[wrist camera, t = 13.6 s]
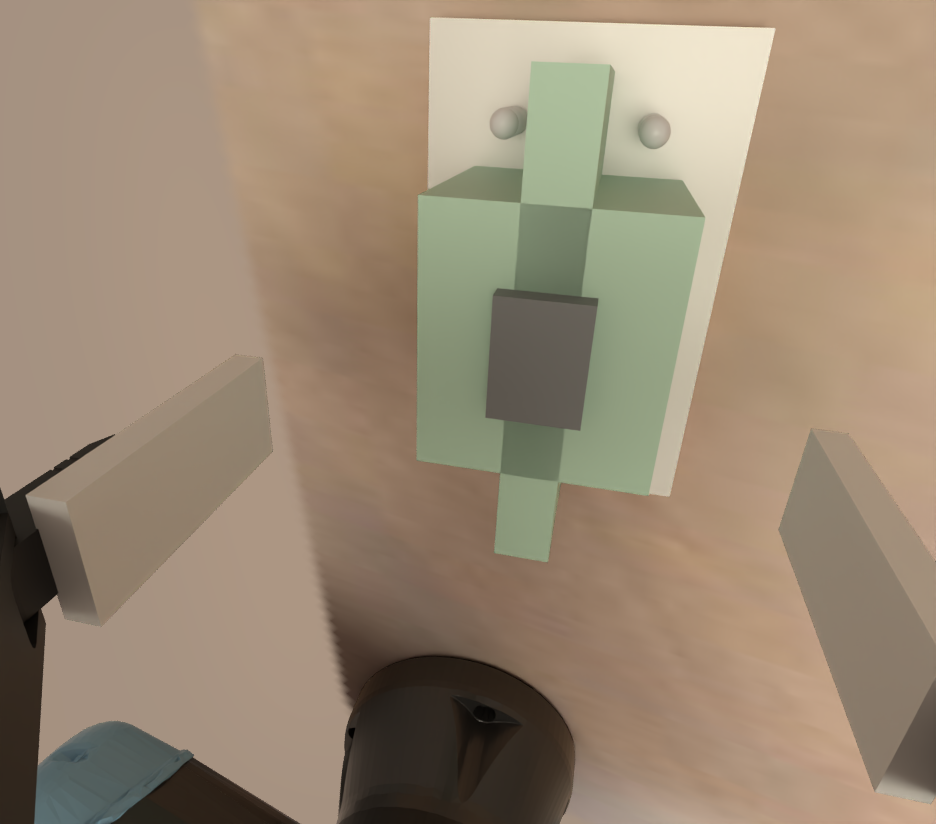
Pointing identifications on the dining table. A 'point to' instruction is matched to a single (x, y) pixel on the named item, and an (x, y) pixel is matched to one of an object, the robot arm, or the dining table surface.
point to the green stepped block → (551, 312)
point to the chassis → (615, 131)
